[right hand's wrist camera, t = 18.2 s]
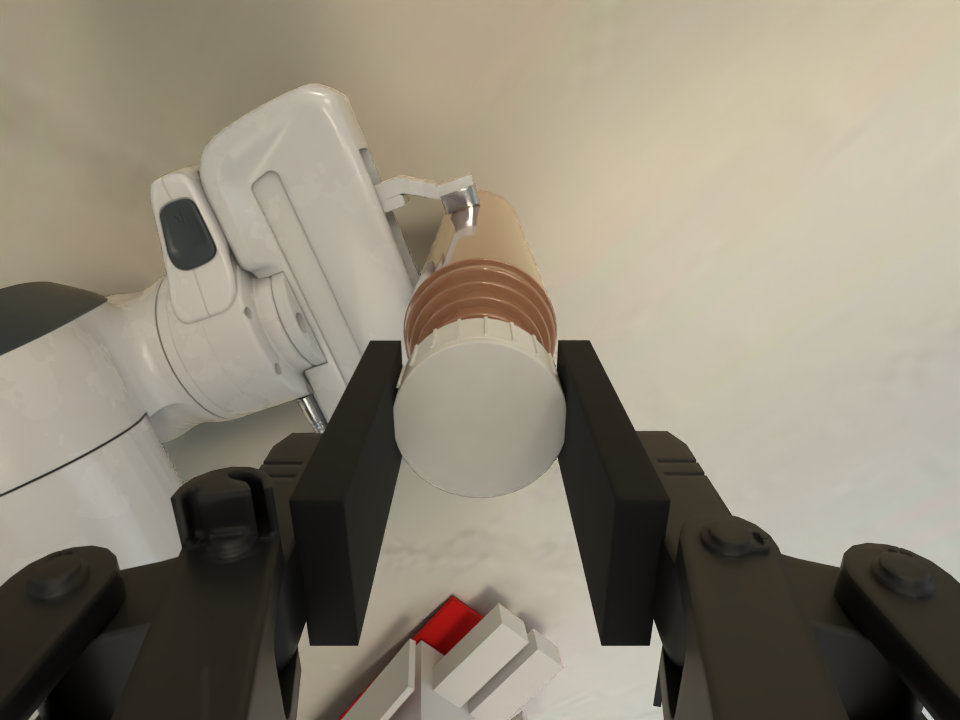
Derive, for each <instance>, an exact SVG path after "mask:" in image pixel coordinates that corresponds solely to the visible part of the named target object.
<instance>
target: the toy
mask: <svg viewBox="0 0 960 720" xmlns="http://www.w3.org/2000/svg"><path fill="white" fill-rule="evenodd" d="M563 668H564V667H563V664H562V660H561V657H560V654H559V650H558V647H557V646H556V645H555V644H554V643H552V642H551V641H549V640H548V639H547V638H545V637H544V636H543V635H541V634H540V633H539V632H537V631H536V630H534V629H532V630H531V631H530V632H529V633H528V634H527V633H526V628H525V624H524V621H522V620H521V619H519V618H518V617H517V616H515V615H514V614H513V613H511V612H510V611H509V610H507V609H506V608H504V607H503V606H502V605H500V604H499V603H498V604H497V605H496V606H495V607H494V608H493V609H492V610H491V611H490V612H489V613H488V614H487V615H486V616H485V617H483V616H482V615H480V614H479V613H477V612H476V611H474V610H473V609H471V608H470V607H468V606H467V605H465V604H464V603H463V602H461V601H460V600H458V599H457V598H455V597H454V596H452V597H451V598H450V599H449V600H448V601H447V602H446V603H445V604H444V605H443V606H442V607H441V608H440V609H439V611H438V612H437V613H436V614H435V615H434V616H433V617H432V618H431V619H430V620H429V621H428V622H427V623H426V625H425V626H424V627H423V628H422V629H421V630H420V631H419V632H418V633H417V634H416V635H415V636H414V637H413V639H409V640H408V641H407V643H406V644H405V645H404V646H403V647H402V648H401V650H400V651H399V652H398V653H397V654H396V656H395V657H394V658H393V659H392V660H391V661H390V663H389V664H388V665H387V666H386V667H385V669H384V670H383V671H382V672H381V673H380V674H379V675H378V676H377V677H376V678H375V679H374V680H373V682H372V683H371V684H370V685H369V686H368V687H367V688H366V689H365V690H364V691H363V692H362V693H361V694H360V696H359V697H358V698H357V699H356V700H355V701H354V702H353V703H352V704H351V705H350V706H349V707H348V708H347V710H346V711H345V712H344V713H343V714H342V715H341V716H340V718H339V720H508V719H509V718H510V717H511V716H512V715H513V714H514V713H516V712H517V711H518V710H519V709H520V708H521V707H522V706H523V705H524V704H525V703H526V702H527V701H528V700H529V699H531V698H532V697H533V696H534V695H535V694H536V693H537V692H538V691H539V690H540V689H541V688H542V687H543V686H544V685H546V684H547V683H548V682H549V681H550V680H551V679H552V678H553V677H554V676H555V675H556V674H557V673H558V672H559V671H561V670H562V669H563ZM511 720H527V716H526V714H525V713H523V712H520V713H519V714H518V715H517V716H515V717H514V718H513V719H511Z"/></svg>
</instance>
